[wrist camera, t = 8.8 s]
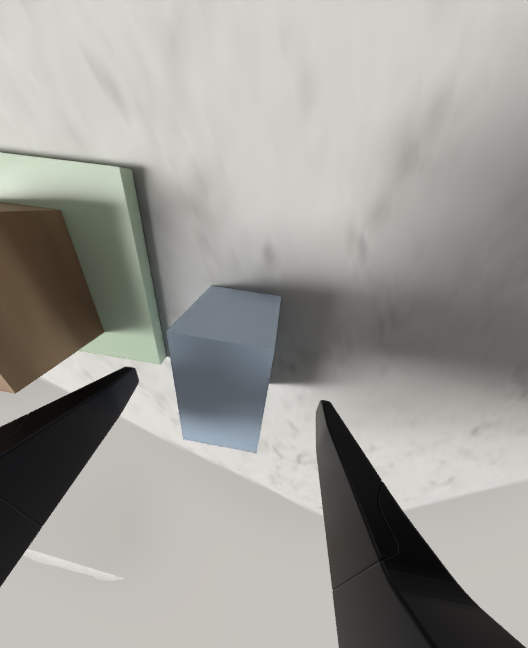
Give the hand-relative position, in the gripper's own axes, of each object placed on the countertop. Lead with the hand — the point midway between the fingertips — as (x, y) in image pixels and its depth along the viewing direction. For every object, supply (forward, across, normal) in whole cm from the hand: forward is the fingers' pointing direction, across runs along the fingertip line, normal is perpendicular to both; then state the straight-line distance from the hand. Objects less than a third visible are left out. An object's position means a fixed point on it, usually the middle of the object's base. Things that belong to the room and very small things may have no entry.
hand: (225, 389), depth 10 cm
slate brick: (+4, 0, 0) cm, 4 cm away
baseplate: (+4, +11, -3) cm, 12 cm away
